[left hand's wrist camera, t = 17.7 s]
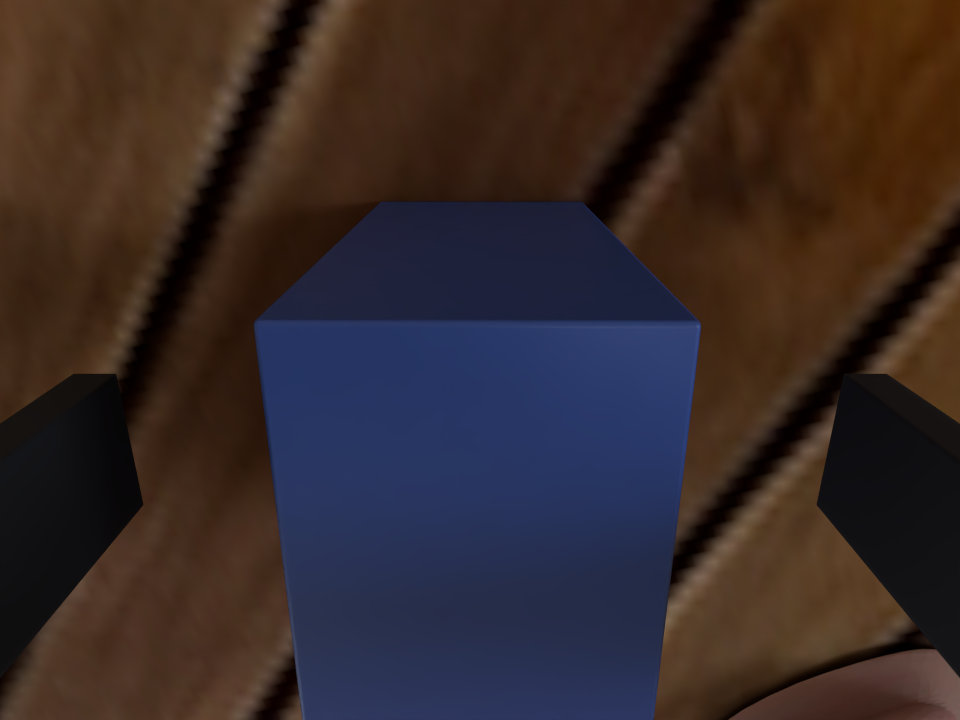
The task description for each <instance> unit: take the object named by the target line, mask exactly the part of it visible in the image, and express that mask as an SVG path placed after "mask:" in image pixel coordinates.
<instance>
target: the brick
mask: <svg viewBox="0 0 960 720" xmlns="http://www.w3.org/2000/svg"><path fill="white" fill-rule="evenodd" d="M700 330H701V325H700V322H699V321H698V320H697V318H696V317H695V316H694V315H693V314H692V313H691V312H690V311H689V310H688V309H687V308H686V307H685V306H684V305H683V304H682V303H681V302H680V301H679V300H678V299H677V298H676V297H675V296H674V295H673V294H672V293H671V292H670V291H669V290H668V289H667V288H666V287H665V286H664V285H663V284H662V283H661V282H660V281H659V280H658V279H657V278H656V277H655V276H654V275H653V274H652V273H651V272H650V271H649V270H648V269H647V268H646V267H645V266H644V265H643V264H642V263H641V262H640V261H639V260H638V259H637V258H636V257H635V256H634V254H633V253H632V252H631V251H630V250H629V249H628V248H627V247H626V246H625V245H624V244H623V243H622V242H621V241H620V240H619V239H618V238H617V237H616V236H615V235H614V234H613V233H612V232H611V231H610V230H609V229H608V228H607V227H606V226H605V225H604V224H603V223H602V222H601V221H600V220H599V219H598V218H597V217H596V216H595V215H594V214H593V213H592V212H591V211H590V210H589V209H588V208H587V207H586V206H585V205H584V204H583V203H582V202H380V203H379V204H378V205H377V206H376V207H375V208H374V209H373V210H372V211H371V212H369V213H368V214H367V215H366V216H365V217H364V218H363V219H362V220H361V221H360V222H359V223H358V224H357V225H356V226H355V227H354V228H353V229H351V230H350V231H349V232H348V233H347V234H346V235H345V236H344V237H343V238H342V239H341V240H340V241H339V242H338V243H337V244H336V245H335V246H333V247H332V248H331V249H330V250H329V251H328V252H327V253H326V254H325V255H324V256H323V257H322V258H321V259H320V260H319V261H318V262H317V263H316V264H314V265H313V266H312V267H311V268H310V269H309V270H308V271H307V272H306V273H305V274H304V275H303V276H302V277H301V278H300V279H299V280H298V281H296V282H295V283H294V284H293V285H292V286H291V287H290V288H289V289H288V290H287V291H286V292H285V293H284V294H283V295H282V296H281V297H280V298H278V299H277V300H276V301H275V302H274V303H273V304H272V305H271V306H270V307H269V308H268V309H267V310H266V311H265V312H264V313H263V314H262V315H260V316H259V317H258V318H257V319H256V320H255V322H254V332H255V341H256V349H257V357H258V365H259V373H260V381H261V389H262V397H263V405H264V413H265V421H266V430H267V438H268V446H269V454H270V462H271V470H272V478H273V486H274V494H275V502H276V511H277V519H278V527H279V535H280V543H281V551H282V559H283V567H284V575H285V583H286V592H287V600H288V608H289V616H290V624H291V632H292V640H293V648H294V656H295V664H296V672H297V681H298V689H299V697H300V705H301V713H302V720H653V719H654V711H655V703H656V695H657V686H658V678H659V670H660V661H661V653H662V645H663V637H664V628H665V620H666V612H667V603H668V595H669V587H670V579H671V570H672V562H673V554H674V546H675V537H676V529H677V521H678V512H679V504H680V496H681V488H682V479H683V471H684V463H685V454H686V446H687V438H688V430H689V421H690V413H691V405H692V397H693V388H694V380H695V372H696V363H697V355H698V347H699V339H700Z"/></svg>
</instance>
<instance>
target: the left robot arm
mask: <svg viewBox="0 0 960 720" xmlns="http://www.w3.org/2000/svg"><path fill="white" fill-rule="evenodd" d="M142 506H143V501H142V496H141V491H140V486H139V482H138V477H137V472H136V467H135V462H134V458H133V453H132V448H131V443H130V439H129V434H128V429H127V424H126V420H125V415H124V410H123V405H122V400H121V396H120V391H119V386H118V381H117V377H116V374H73V375H71V376H70V377H68V378H67V379H65V380H64V381H62V382H61V383H59V384H58V385H56V386H55V387H54V388H52V389H51V390H49V391H48V392H46V393H45V394H43V395H42V396H40V397H39V398H37V399H36V400H34V401H33V402H32V403H30V404H29V405H27V406H26V407H24V408H23V409H21V410H20V411H18V412H17V413H15V414H14V415H12V416H11V417H10V418H8V419H7V420H5V421H4V422H2V423H1V424H0V678H1V677H2V675H3V674H4V673H5V672H6V671H7V669H8V668H9V667H10V666H11V665H12V663H13V662H14V661H15V660H16V658H17V657H18V656H19V655H20V654H21V652H22V651H23V650H24V649H25V648H26V646H27V645H28V644H29V643H30V641H31V640H32V639H33V638H34V637H35V635H36V634H37V633H38V632H39V631H40V629H41V628H42V627H43V626H44V625H45V623H46V622H47V621H48V620H49V618H50V617H51V616H52V615H53V614H54V612H55V611H56V610H57V609H58V608H59V606H60V605H61V604H62V603H63V602H64V600H65V599H66V598H67V597H68V595H69V594H70V593H71V592H72V591H73V589H74V588H75V587H76V586H77V585H78V583H79V582H80V581H81V580H82V578H83V577H84V576H85V575H86V574H87V572H88V571H89V570H90V569H91V568H92V566H93V565H94V564H95V563H96V562H97V560H98V559H99V558H100V557H101V555H102V554H103V553H104V552H105V551H106V549H107V548H108V547H109V546H110V545H111V543H112V542H113V541H114V540H115V539H116V537H117V536H118V535H119V534H120V532H121V531H122V530H123V529H124V528H125V526H126V525H127V524H128V523H129V522H130V520H131V519H132V518H133V517H134V515H135V514H136V513H137V512H138V511H139V509H140V508H141V507H142ZM817 506H818V507H819V508H820V509H821V511H822V512H823V513H824V514H825V515H826V517H827V518H828V519H829V520H830V522H831V523H832V524H833V525H834V526H835V528H836V529H837V530H838V531H839V532H840V534H841V535H842V536H843V537H844V539H845V540H846V541H847V542H848V543H849V545H850V546H851V547H852V548H853V549H854V551H855V552H856V553H857V554H858V555H859V557H860V558H861V559H862V560H863V562H864V563H865V564H866V565H867V566H868V568H869V569H870V570H871V571H872V572H873V574H874V575H875V576H876V577H877V578H878V580H879V581H880V582H881V583H882V585H883V586H884V587H885V588H886V589H887V591H888V592H889V593H890V594H891V595H892V597H893V598H894V599H895V600H896V602H897V603H898V604H899V605H900V606H901V608H902V609H903V610H904V611H905V612H906V614H907V615H908V616H909V617H910V618H911V620H912V621H913V622H914V623H915V625H916V626H917V627H918V628H919V629H920V631H921V632H922V633H923V634H924V635H925V637H926V638H927V639H928V640H929V641H930V643H931V644H932V645H933V646H934V648H935V649H936V650H937V651H938V652H939V654H940V655H941V656H942V657H943V658H944V660H945V661H946V662H947V663H948V665H949V666H950V667H951V668H952V669H953V671H954V672H955V673H956V674H957V675H958V677H959V678H960V424H959V423H958V422H956V421H955V420H953V419H952V418H950V417H949V416H948V415H946V414H945V413H943V412H942V411H940V410H939V409H937V408H936V407H934V406H933V405H931V404H930V403H928V402H927V401H926V400H924V399H923V398H921V397H920V396H918V395H917V394H915V393H914V392H912V391H911V390H909V389H908V388H906V387H905V386H904V385H902V384H901V383H899V382H898V381H896V380H895V379H893V378H892V377H890V376H889V375H887V374H844V377H843V381H842V386H841V391H840V396H839V400H838V405H837V410H836V415H835V420H834V424H833V429H832V434H831V439H830V443H829V448H828V453H827V458H826V462H825V467H824V472H823V477H822V482H821V486H820V491H819V496H818V501H817Z"/></svg>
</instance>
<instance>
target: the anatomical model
mask: <svg viewBox="0 0 960 720" xmlns="http://www.w3.org/2000/svg"><path fill="white" fill-rule="evenodd" d="M728 720H960V678H959V677H958V675H957V674H956V673H955V672H954V671H953V669H952V668H951V667H950V666H949V665H948V663H947V662H946V661H945V660H944V658H943V657H942V656H941V655H940V654H939V652H938V651H937V650H936V649H915V650H909V651H902V652H898V653H894V654H889V655H885V656H881V657H877V658H873V659H869V660H865V661H862V662H859V663H856V664H853V665H849V666H846V667H843V668H840V669H837V670H834V671H831V672H827V673H824V674H821V675H819V676H816V677H813V678H811V679H808V680H805V681H802V682H800V683H797V684H795V685H793V686H790V687H788V688H786V689H783V690H781V691H779V692H777V693H774V694H772V695H770V696H768V697H766V698H764V699H762V700H760V701H759V702H757V703H755V704H753V705H751V706H749V707H747V708H745V709H744V710H742V711H741V712H739V713H738V714H736V715H734V716H733V717H731V718H730V719H728Z"/></svg>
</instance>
